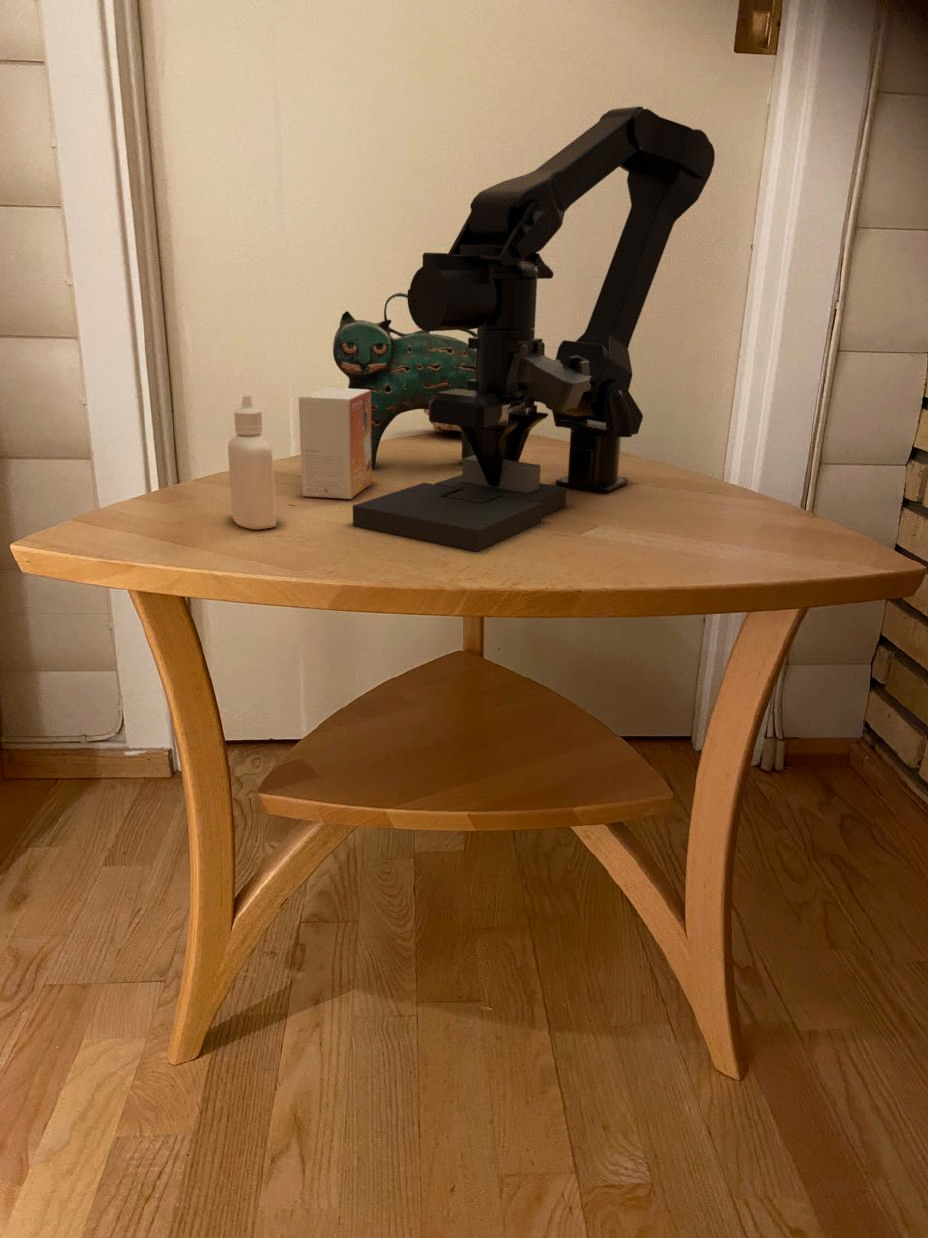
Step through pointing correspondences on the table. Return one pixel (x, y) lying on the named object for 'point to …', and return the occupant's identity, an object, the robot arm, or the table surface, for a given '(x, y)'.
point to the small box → (335, 442)
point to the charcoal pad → (446, 517)
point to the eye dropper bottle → (251, 471)
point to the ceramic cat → (401, 369)
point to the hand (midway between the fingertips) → (500, 483)
